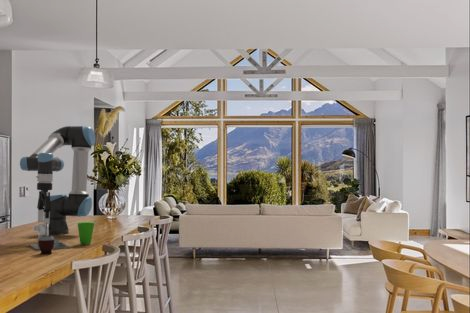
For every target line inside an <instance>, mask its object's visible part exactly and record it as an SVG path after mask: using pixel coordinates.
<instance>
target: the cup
mask: <svg viewBox="0 0 470 313" xmlns="http://www.w3.org/2000/svg"><path fill="white" fill-rule="evenodd" d="M76 224H77V229H78V230H77V231H78V236H79V243H80V245H81V244H89V245H91V243H92V237H93V233H94V229H95V228H94V227H95V222H91V221H90V222H89V221H84V222H77V223H76Z"/></svg>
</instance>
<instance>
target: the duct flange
mask: <svg viewBox="0 0 470 313" xmlns="http://www.w3.org/2000/svg"><path fill="white" fill-rule="evenodd" d="M54 242H55V243H54V247H53V249H52V250H65V249H64V248H68V249H70V246H69V245H67V244H65V243H63V242H60V241H59V239H54ZM28 246H29V247H30V248H31V249H32V250H34V251H41V250H40V248H39V245H38V243H31V244H28Z"/></svg>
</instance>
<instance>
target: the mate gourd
mask: <svg viewBox="0 0 470 313" xmlns="http://www.w3.org/2000/svg"><path fill="white" fill-rule="evenodd" d="M46 233H47V223H46V227H45V236H41V237H40V239H39V242H38V241H37V244H38V245H39V248H40V250H39V251H40V255H41V254H42V255H52V254H53V252H52V250H54V249H53V247H54V243H55V242H54V240H55V238H54V236H52V235H49V236H46Z"/></svg>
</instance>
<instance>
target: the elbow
mask: <svg viewBox="0 0 470 313" xmlns="http://www.w3.org/2000/svg"><path fill="white" fill-rule="evenodd" d="M45 227H46V225H44V223H41V224H40V223H39V224H38V225H32V231H33V232H36V231H37V232H38V236H37V237H38V239H37V243H38V242H39V239H40V237H41V236H45ZM46 236H50V234H49V225H47V233H46Z"/></svg>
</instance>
